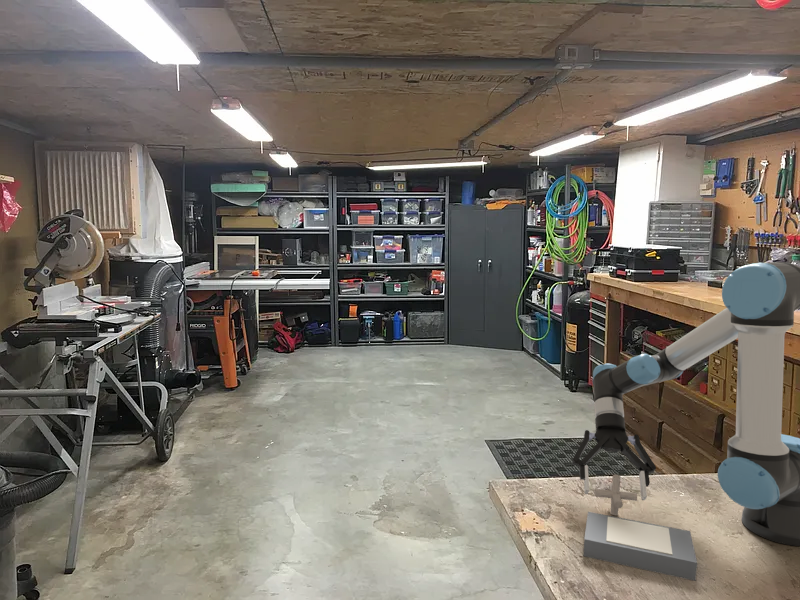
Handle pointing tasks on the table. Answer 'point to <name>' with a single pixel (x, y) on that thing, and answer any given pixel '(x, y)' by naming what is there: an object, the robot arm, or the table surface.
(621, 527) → the grey flat block
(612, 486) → the pipe connector
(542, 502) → the table surface
